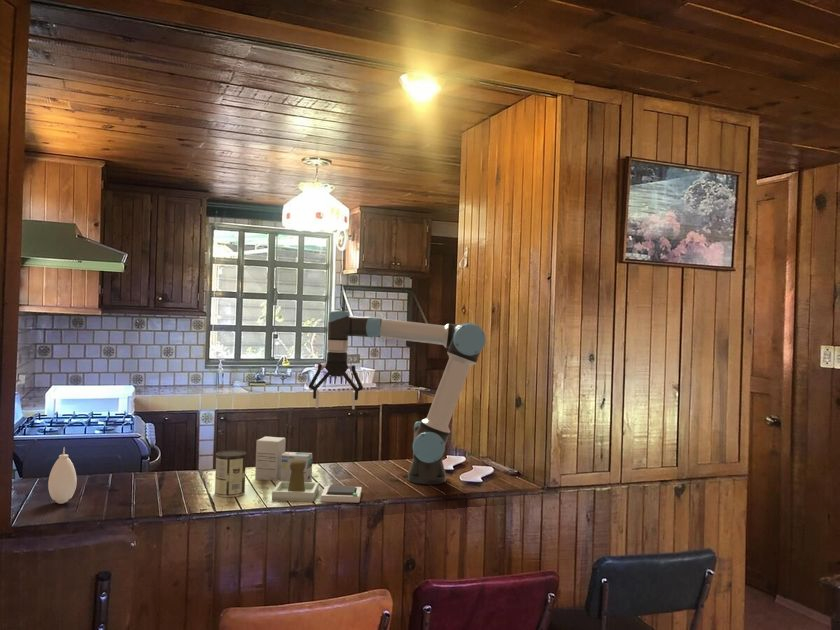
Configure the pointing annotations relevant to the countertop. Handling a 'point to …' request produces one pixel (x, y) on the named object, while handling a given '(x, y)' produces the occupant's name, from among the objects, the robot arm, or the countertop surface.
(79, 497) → the countertop surface
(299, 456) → the light bulb box
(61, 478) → the bulb syringe
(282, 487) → the sorting tray
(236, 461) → the coffee can
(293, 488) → the cork
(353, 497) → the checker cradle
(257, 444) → the supplement box
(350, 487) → the dark grey square slab
